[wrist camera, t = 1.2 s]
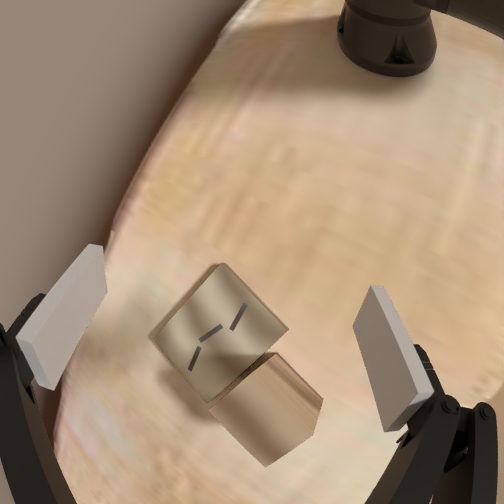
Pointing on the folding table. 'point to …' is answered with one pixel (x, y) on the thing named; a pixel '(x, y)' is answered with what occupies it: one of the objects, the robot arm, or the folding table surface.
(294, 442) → the block
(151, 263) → the folding table surface
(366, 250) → the folding table surface
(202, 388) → the board
